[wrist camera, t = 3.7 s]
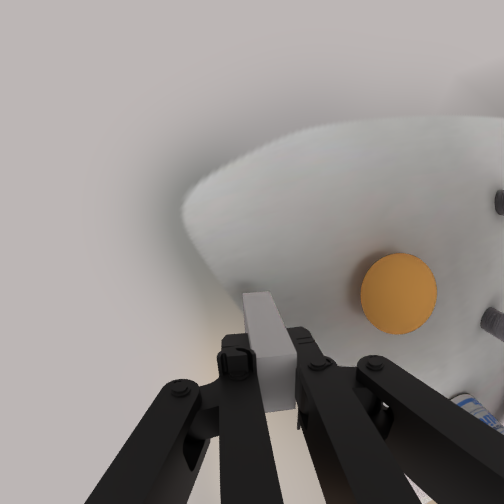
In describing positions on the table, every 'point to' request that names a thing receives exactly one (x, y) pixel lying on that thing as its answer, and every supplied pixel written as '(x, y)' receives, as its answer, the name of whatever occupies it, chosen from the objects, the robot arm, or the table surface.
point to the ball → (398, 293)
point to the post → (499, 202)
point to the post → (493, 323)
